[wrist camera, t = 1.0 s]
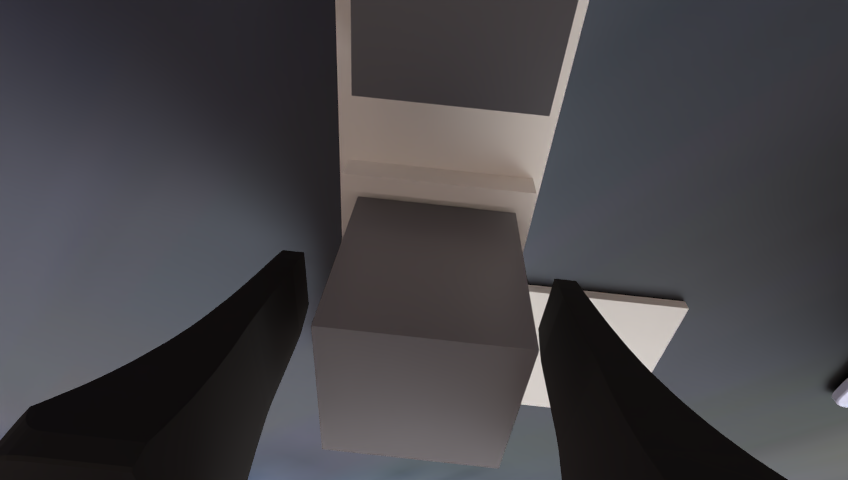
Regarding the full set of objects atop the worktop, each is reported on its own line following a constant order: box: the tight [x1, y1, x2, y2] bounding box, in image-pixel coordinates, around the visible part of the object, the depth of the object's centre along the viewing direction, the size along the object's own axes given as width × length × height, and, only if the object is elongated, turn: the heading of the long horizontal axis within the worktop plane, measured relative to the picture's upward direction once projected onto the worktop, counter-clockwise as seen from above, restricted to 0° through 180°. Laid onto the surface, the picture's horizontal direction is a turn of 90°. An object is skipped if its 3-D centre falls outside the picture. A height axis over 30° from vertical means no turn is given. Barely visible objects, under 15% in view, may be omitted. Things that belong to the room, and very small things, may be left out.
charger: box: [311, 196, 539, 468], centre depth 12 cm, size 4×5×5 cm
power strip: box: [335, 0, 589, 252], centre depth 13 cm, size 6×20×6 cm, turn 175°
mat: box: [521, 285, 689, 407], centre depth 20 cm, size 7×7×1 cm
